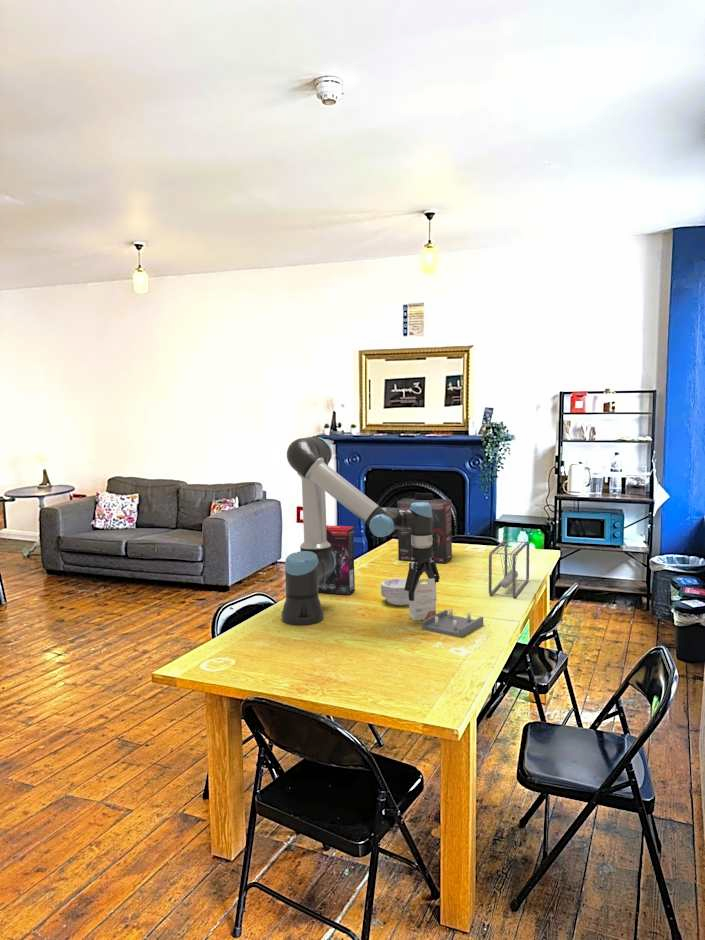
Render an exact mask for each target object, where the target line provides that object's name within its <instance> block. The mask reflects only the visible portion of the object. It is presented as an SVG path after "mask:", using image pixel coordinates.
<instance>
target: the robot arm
mask: <svg viewBox="0 0 705 940" xmlns="http://www.w3.org/2000/svg"><path fill="white" fill-rule="evenodd" d="M332 457H333V450H332V447H331V445H330V443H329V442H328V441H327V440H326V439H324V438H322V437H320V436H309V437H301V438H297V439H295V440H293V441H292V442H290V444H289V445H288V448H287V450H286V460H287V462H288V464H289V465H290V467H291V468H292V470H294V471H295V472H297V475H298V476H299V477H300V479H301V492H302V495H301V497H302V498H301V499H302V520H303V521H302V522H303V523H302V524H303V542H302V543H301V544H300V546H299V548H300V551H296V552H293V553H292V552H291V553H290V554H288V555H287V556H286V558H285V563H284V572H285V601H284V603H283V607H282V611H281V621H282V622H284V623H285V624H290V625H296V626H297V625H298V626H303V625H304V626H305V625H313V624H318V623H319V622H322V621H323V620H324V618H325V614H324V609H323V608H322V605H321V601H320V598H319V597H320V596H319V592H318V583H319V582H320V581H322V580H323V579H326V578H327V577H328V576H329V575H330V574H331V573H332V572H333V570H334V568H335V565H336V559H335V555H334V553H332V551H331V544H330V543H329V542H328V541H327V529H326V525H327V513H326V512H327V508H326V507H327V505H326V493H327V494H329V495H330V497H332V498H334V500H335V501H337V502H338V503H339V504H340V505H342V506H343V507H344V508H346V509H347V510H348V511H349V512H351V513H352V514H353V515H355V516H356V517H357V518H358V519H359V520H360V521H362V522H364V523H365V524H366V525H367V526H368V528H369V530H370V532H371V534H372V535H374V536H375V537H378V538H384V537H387V536H390V535H391V534H392V533H393V532H395V531H396V530H398V529H411V545H412V548H411V551H412V557H413V558H414V559H415V561H413V562H412V561H409V563H408V571H407V576H406V579H407V580H406V584H405V590H406V591H408V592H409V605H408V610H409V609H412V610H417V594H416V591H415V589H416V586H417V584H418V581H419V580H420V579H421V578H420V577H421V576H422V575H423V573H425V575H426V576H427V579H431V578H434V579H435V592H436V593H437V583H439V582H440V578H441V577H440V574H439V570H438V567H437V563H435V557H434V556H433V547H432V546H431V545H432V540H433V538H432V517H433V516H432V507H431V504H429V503H426V502H415V503H412V504H411V507H410V508H397V507H390V506H389V507H380V506H379V504H377V503H376V502H375V501H373V500H372V499H371V498H369V497H368V496H367V495H366V494H364V493H363V492H362V491H360V489H358V488H357V487H356V486H354V485H353V484H352V483H351V482H349V481H348V480H346V478H344V477H343V476H342V475H340V474H339V473H338V472H336V471H335V470H334V468H331V467H330V466H329V464H330V462H331V460H332Z"/></svg>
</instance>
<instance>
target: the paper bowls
mask: <svg viewBox="0 0 705 940" xmlns="http://www.w3.org/2000/svg"><path fill="white" fill-rule="evenodd" d="M406 580H407V578H391V579H387V580H384V581H382V582H381V583H380V596H381V597H383V598H384V599H386V601H387V603H389V604H390V605H393V606H394V605H395V606H409V592H408V591H406V590H405V584H406Z"/></svg>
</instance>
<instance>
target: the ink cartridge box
mask: <svg viewBox="0 0 705 940" xmlns="http://www.w3.org/2000/svg"><path fill="white" fill-rule="evenodd" d="M423 582H424V583H423ZM415 591H416V594H417V610H412V609H409V608H408V610H409V615H408V616H409V618H410V619H411V620H413V621H414V622H415V621H416V622H417V621H424V620H426V619H428V618H430V617H432V616H434V615H436V614H437V610H436V607H437V605H436V604H437V602H436V601H437V591H436V592H435V579H434V578H431V579H429V578H419V581H418V584H417V586H416V589H415Z"/></svg>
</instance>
